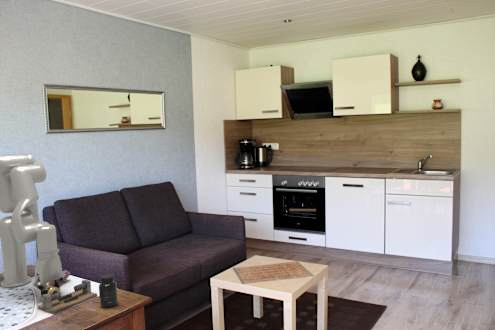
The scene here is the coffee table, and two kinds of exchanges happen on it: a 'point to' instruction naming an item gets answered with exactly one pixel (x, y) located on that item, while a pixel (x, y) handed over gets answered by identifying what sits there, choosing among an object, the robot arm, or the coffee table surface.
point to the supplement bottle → (108, 291)
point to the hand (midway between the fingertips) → (50, 296)
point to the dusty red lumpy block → (63, 278)
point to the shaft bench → (67, 298)
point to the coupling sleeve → (52, 290)
